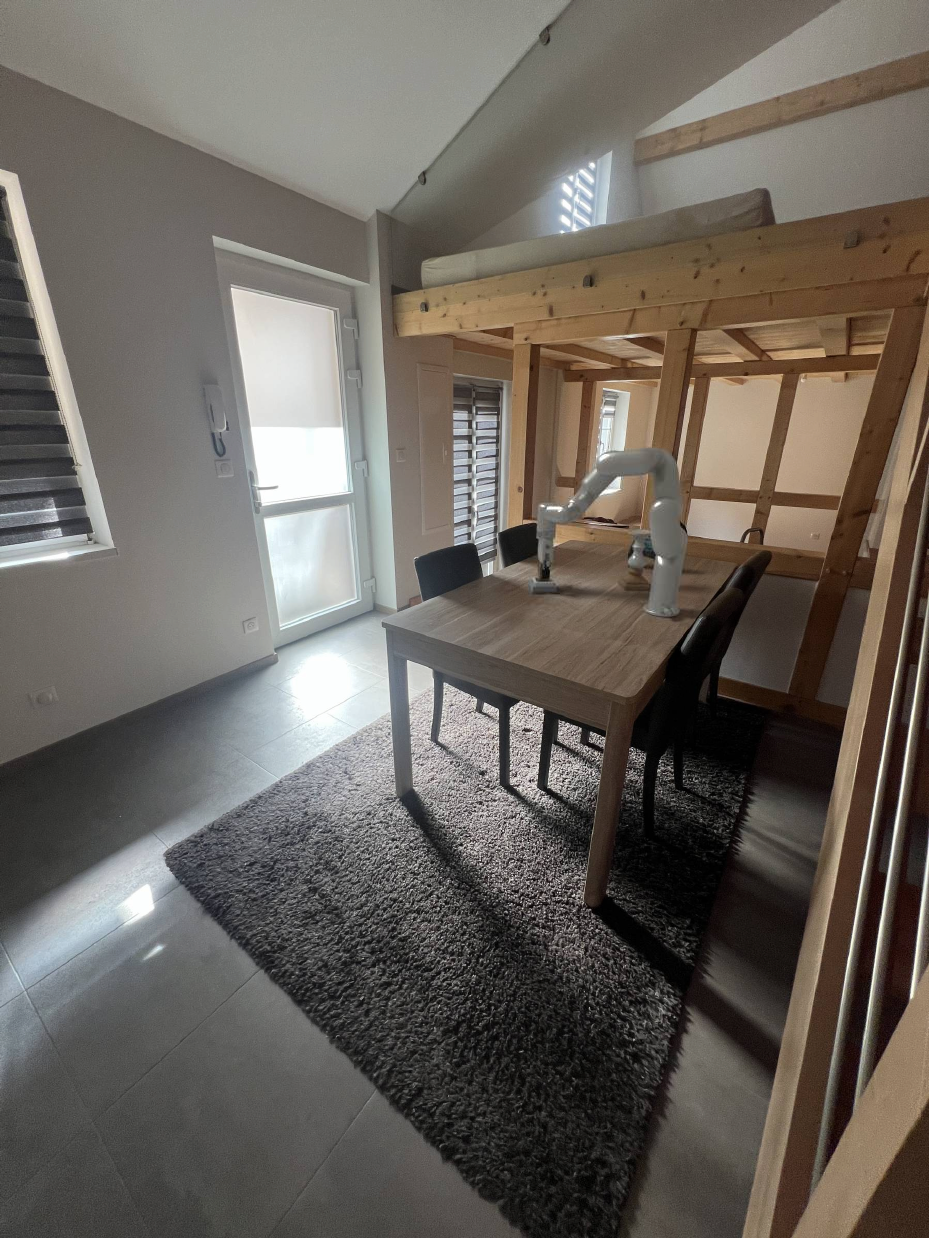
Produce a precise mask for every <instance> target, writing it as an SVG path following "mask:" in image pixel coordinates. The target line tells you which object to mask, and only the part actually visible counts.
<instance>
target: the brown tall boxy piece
mask: <svg viewBox="0 0 929 1238" xmlns="http://www.w3.org/2000/svg"><path fill="white" fill-rule="evenodd" d="M538 563H539V566H538V565H537V577H538V582H549V579H542V569H543V564H542V563H541V562H540V561H539V560H538Z"/></svg>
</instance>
